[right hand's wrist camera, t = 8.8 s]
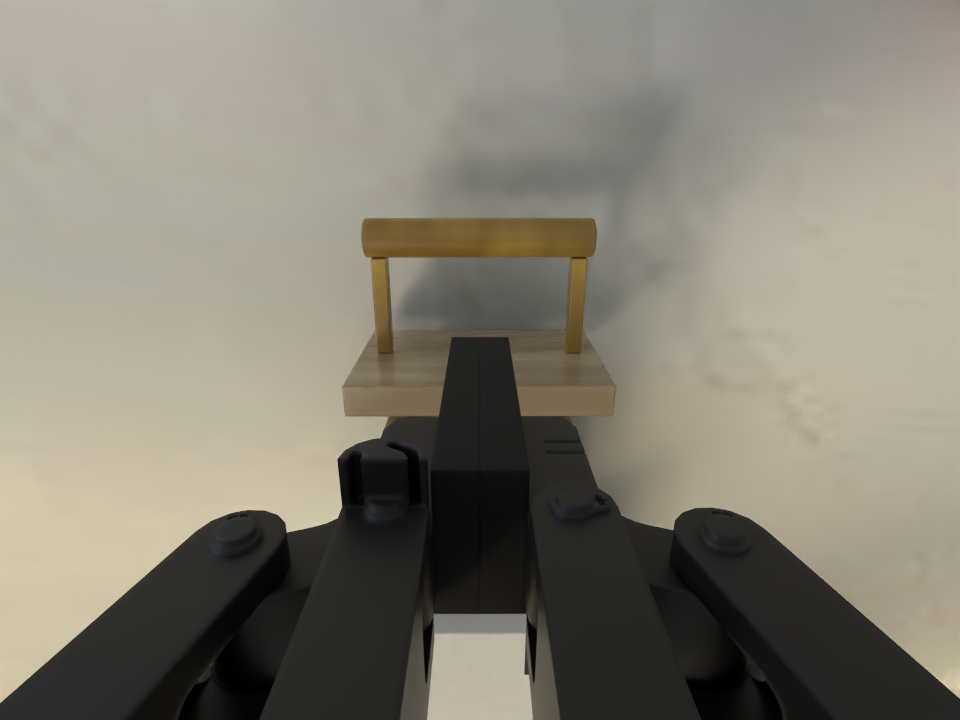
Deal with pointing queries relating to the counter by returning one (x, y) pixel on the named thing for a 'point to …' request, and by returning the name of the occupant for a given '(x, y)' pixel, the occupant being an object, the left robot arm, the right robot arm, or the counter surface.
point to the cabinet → (479, 668)
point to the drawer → (424, 353)
